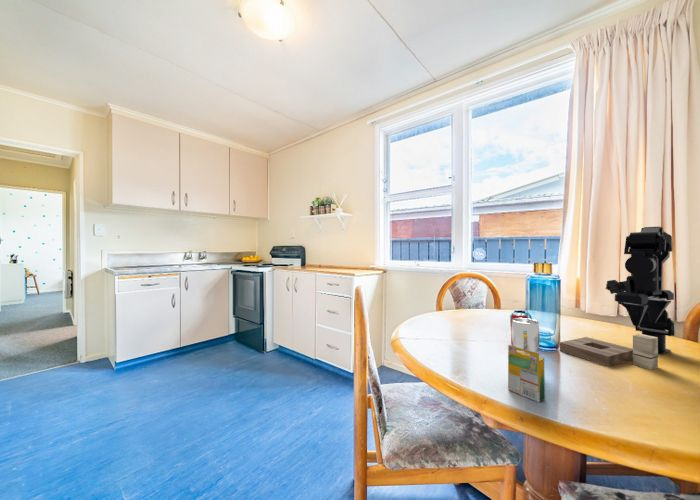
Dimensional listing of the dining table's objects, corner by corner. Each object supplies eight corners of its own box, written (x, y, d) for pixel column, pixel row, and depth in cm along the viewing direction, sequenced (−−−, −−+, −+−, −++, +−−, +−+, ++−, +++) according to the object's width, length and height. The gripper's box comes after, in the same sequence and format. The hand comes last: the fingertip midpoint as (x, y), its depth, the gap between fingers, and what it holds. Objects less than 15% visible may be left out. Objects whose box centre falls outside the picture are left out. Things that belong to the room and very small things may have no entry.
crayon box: (545, 399, 67) (545, 351, 67) (539, 403, 65) (539, 353, 65) (513, 386, 73) (513, 342, 73) (507, 390, 72) (507, 344, 71)
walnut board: (586, 344, 104) (586, 336, 104) (636, 358, 91) (636, 349, 91) (559, 350, 98) (559, 342, 98) (608, 366, 85) (608, 356, 85)
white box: (530, 379, 77) (530, 325, 77) (506, 369, 84) (506, 319, 83) (545, 373, 81) (544, 321, 80) (520, 364, 87) (520, 316, 87)
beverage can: (530, 349, 99) (530, 316, 99) (514, 349, 100) (514, 315, 100) (524, 345, 104) (524, 312, 104) (509, 344, 105) (508, 312, 105)
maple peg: (640, 362, 88) (639, 333, 88) (658, 367, 84) (658, 337, 84) (632, 364, 86) (632, 335, 86) (650, 369, 83) (650, 339, 82)
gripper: (627, 270, 96) (628, 315, 96) (594, 272, 89) (594, 321, 89) (674, 272, 86) (674, 323, 86) (640, 275, 79) (640, 330, 79)
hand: (644, 324), depth 85 cm, fingers open, 9 cm apart
